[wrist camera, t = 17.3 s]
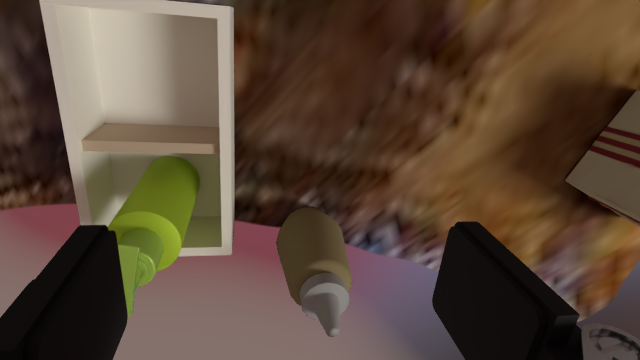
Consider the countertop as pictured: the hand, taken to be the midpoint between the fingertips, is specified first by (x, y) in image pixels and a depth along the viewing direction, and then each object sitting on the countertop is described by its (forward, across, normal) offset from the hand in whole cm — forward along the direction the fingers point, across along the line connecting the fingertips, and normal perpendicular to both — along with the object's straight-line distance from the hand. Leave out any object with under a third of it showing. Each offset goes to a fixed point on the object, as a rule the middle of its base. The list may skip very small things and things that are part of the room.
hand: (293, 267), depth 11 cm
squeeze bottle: (+34, -6, +18) cm, 38 cm away
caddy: (+33, +10, +5) cm, 35 cm away
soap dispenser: (+33, +10, +11) cm, 36 cm away
